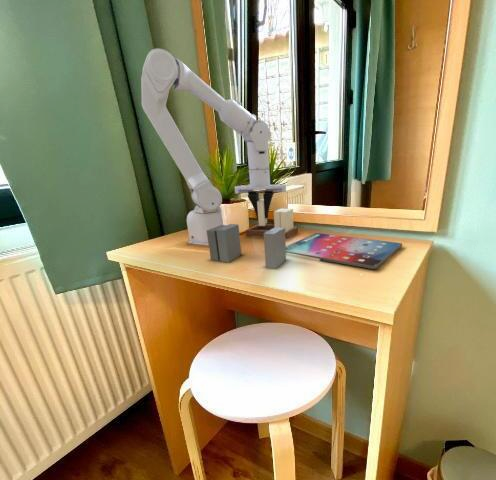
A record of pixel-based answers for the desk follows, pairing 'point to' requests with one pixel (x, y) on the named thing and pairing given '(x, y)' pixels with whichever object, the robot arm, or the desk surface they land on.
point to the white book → (261, 212)
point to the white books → (284, 219)
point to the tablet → (345, 249)
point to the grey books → (229, 248)
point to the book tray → (261, 230)
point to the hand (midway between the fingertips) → (262, 217)
